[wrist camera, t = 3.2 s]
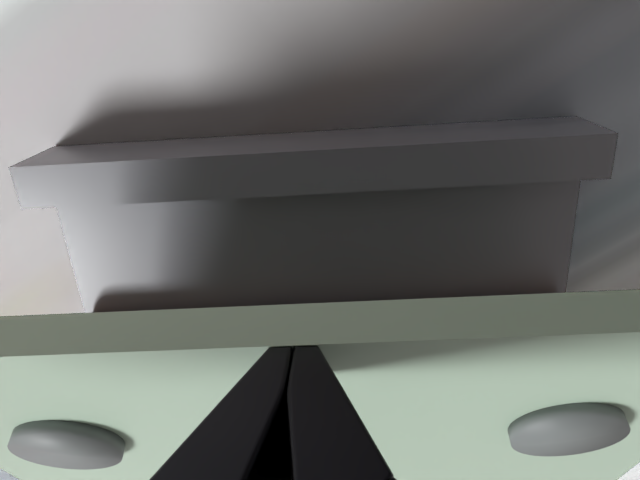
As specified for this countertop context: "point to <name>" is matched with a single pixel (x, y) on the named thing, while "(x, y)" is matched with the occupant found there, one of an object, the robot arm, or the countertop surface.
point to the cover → (353, 374)
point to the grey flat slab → (320, 213)
